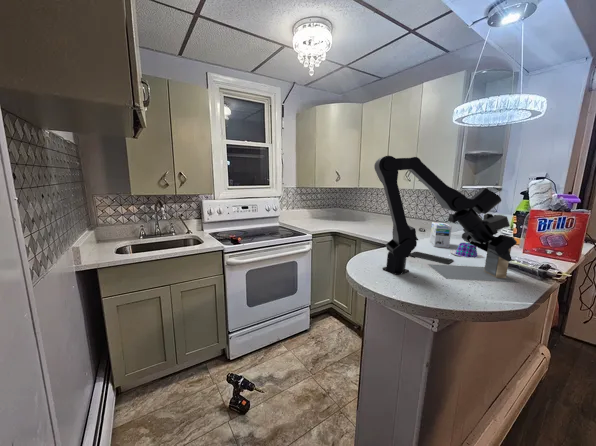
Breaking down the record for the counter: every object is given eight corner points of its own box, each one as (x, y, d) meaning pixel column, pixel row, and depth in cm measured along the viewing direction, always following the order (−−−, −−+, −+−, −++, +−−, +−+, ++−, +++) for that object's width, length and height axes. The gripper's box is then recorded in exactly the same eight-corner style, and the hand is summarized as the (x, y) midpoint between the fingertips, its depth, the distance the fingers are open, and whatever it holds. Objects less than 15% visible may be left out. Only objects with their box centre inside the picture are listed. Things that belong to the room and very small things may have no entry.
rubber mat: (446, 279, 80) (446, 278, 80) (427, 265, 93) (427, 264, 93) (519, 283, 78) (519, 282, 78) (488, 268, 92) (489, 267, 92)
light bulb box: (449, 248, 119) (452, 226, 117) (433, 247, 121) (436, 225, 119) (443, 243, 129) (445, 222, 127) (428, 242, 131) (431, 221, 129)
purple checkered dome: (486, 256, 108) (487, 244, 107) (478, 261, 100) (480, 249, 99) (454, 250, 117) (456, 239, 116) (445, 254, 109) (447, 243, 108)
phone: (415, 251, 109) (454, 259, 99) (415, 253, 110) (454, 262, 99) (407, 254, 104) (447, 263, 93) (407, 257, 104) (447, 266, 93)
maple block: (495, 277, 81) (501, 242, 79) (483, 271, 87) (488, 237, 85) (505, 278, 81) (512, 242, 79) (493, 271, 87) (498, 238, 85)
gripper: (515, 210, 71) (549, 249, 72) (475, 204, 90) (502, 235, 91) (482, 235, 73) (515, 273, 74) (449, 224, 92) (476, 254, 93)
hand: (501, 257), depth 83 cm, fingers open, 7 cm apart
